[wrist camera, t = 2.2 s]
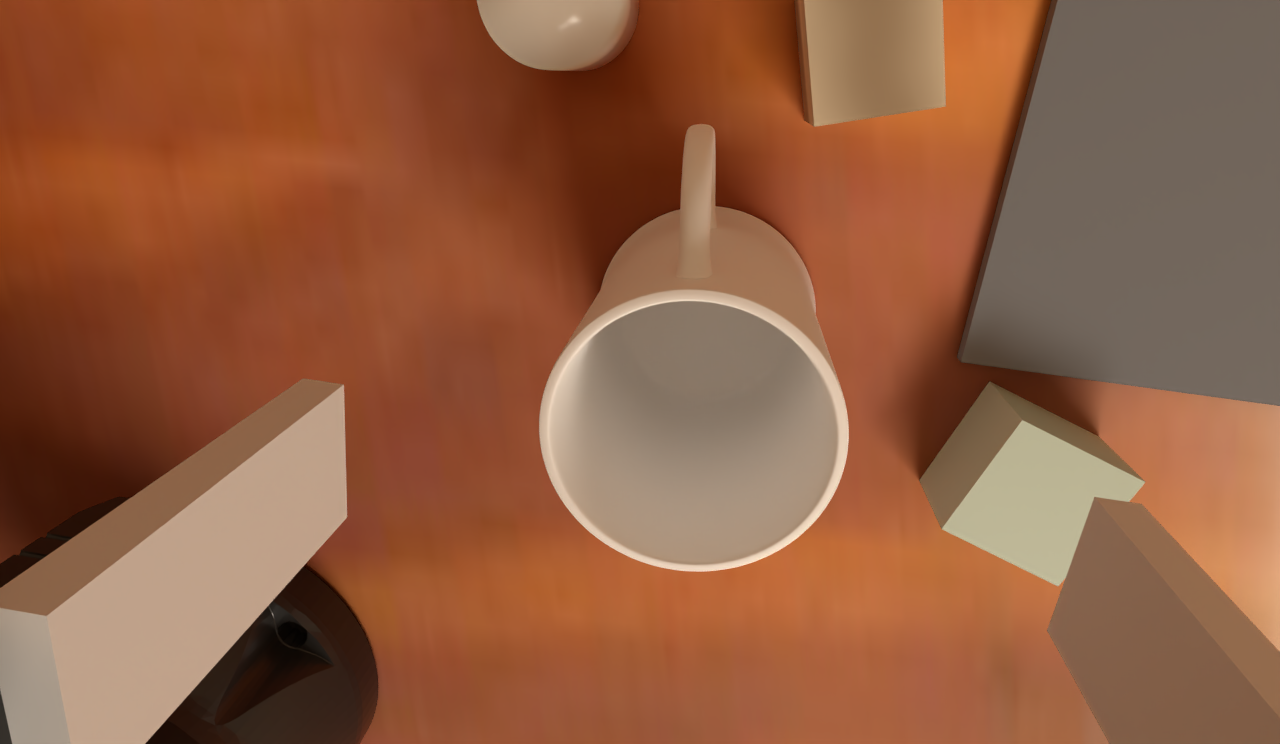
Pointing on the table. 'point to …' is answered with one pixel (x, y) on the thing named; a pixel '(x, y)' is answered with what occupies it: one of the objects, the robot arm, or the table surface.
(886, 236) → the table surface
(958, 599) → the table surface
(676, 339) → the mug
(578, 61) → the beige rounded block
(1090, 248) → the coaster
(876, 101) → the maple block
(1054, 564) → the sage block
